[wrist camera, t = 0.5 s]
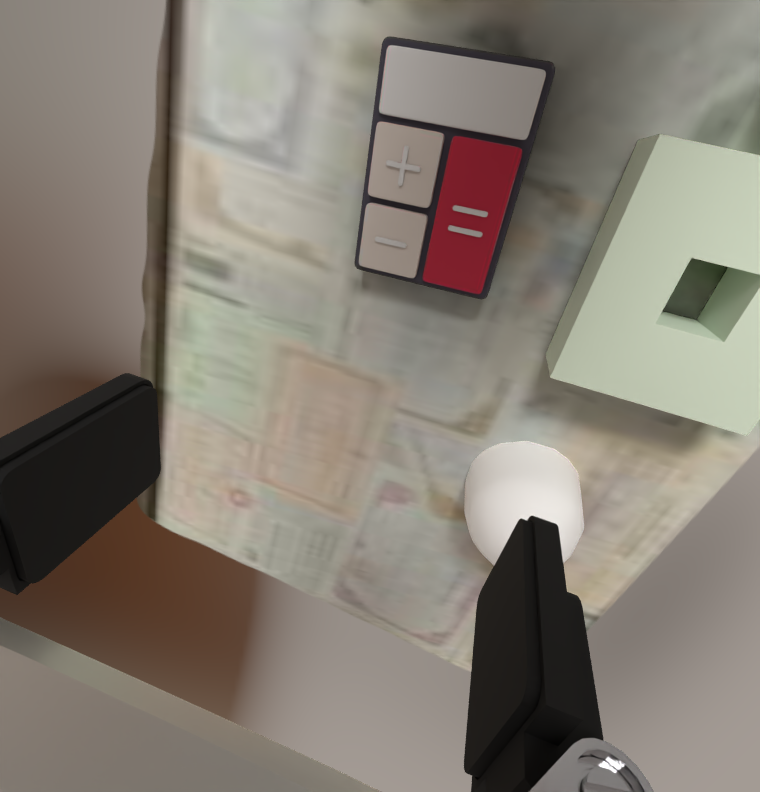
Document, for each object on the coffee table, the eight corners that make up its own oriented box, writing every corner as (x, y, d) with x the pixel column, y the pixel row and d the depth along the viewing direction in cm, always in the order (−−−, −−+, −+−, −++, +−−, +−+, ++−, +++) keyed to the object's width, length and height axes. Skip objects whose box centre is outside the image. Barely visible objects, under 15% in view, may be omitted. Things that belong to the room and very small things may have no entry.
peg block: (638, 139, 29) (660, 134, 25) (867, 189, 27) (933, 192, 23) (545, 353, 37) (550, 377, 33) (718, 403, 35) (747, 435, 31)
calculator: (350, 271, 35) (379, 32, 27) (366, 259, 38) (395, 45, 31) (485, 304, 33) (559, 60, 25) (488, 288, 37) (554, 70, 29)
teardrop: (463, 521, 47) (450, 618, 37) (467, 434, 43) (452, 518, 32) (573, 537, 45) (591, 646, 34) (590, 445, 40) (617, 541, 29)
